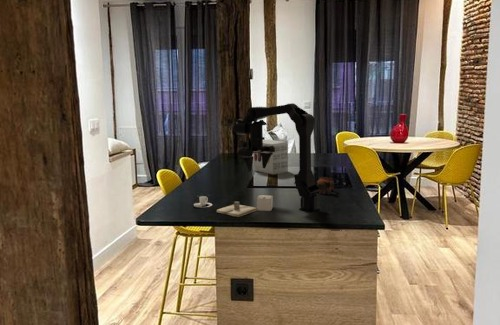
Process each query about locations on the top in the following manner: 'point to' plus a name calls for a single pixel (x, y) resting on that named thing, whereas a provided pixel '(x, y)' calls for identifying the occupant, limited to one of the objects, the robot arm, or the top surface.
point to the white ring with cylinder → (202, 202)
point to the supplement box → (273, 158)
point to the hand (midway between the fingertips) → (257, 169)
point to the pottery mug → (325, 184)
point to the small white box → (264, 203)
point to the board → (236, 210)
